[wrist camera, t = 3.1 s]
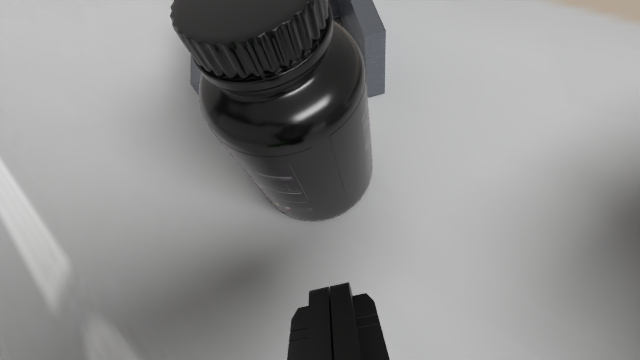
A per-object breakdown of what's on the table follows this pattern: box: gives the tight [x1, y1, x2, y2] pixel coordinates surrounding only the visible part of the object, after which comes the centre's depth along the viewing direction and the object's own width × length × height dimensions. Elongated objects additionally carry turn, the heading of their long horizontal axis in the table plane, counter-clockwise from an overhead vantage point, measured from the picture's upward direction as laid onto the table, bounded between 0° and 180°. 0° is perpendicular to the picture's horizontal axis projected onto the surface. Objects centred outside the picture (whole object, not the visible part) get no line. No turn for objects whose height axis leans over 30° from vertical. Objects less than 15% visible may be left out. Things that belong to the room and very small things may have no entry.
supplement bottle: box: [170, 0, 372, 221], centre depth 15 cm, size 7×7×12 cm
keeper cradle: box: [191, 0, 386, 97], centre depth 21 cm, size 10×11×9 cm
